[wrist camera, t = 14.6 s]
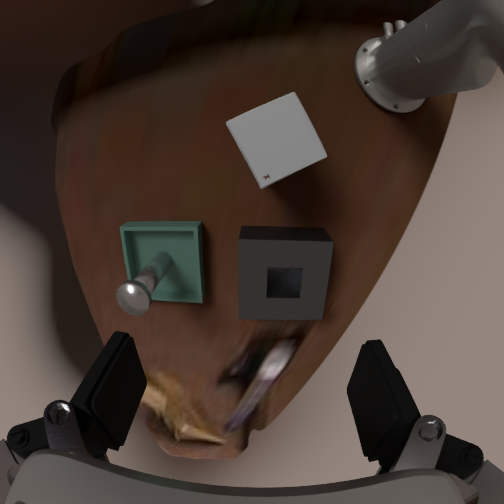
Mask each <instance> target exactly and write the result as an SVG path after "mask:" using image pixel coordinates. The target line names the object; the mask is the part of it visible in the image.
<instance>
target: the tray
mask: <svg viewBox="0 0 504 504" xmlns="http://www.w3.org/2000/svg"><path fill="white" fill-rule="evenodd" d="M120 232H121V240H122V247H123V253H124V259H125V265H126V271H127V276H128V280H134V279H135V277H136V276H137V275H138V274H139V273H140V272H141V271H142V270H143V268H144V267H145V266H146V265H147V264H148V263H149V262H150V261H151V260H152V258H153V257H154V256H155V255H156V254H157V253H158V252H166V253H168V254H169V255H170V256H171V258H172V265H171V267H170V268H169V270H168V271H167V273H166V274H165V275H164V277H163V278H162V280H161V281H160V282H159V284H158V285H157V287H156V288H155V290H154V291H153V293H152V294H151V296H152V300H160V301H174V302H189V303H203V301H204V298H205V295H206V292H205V277H204V262H203V244H202V222H201V221H148V222H127V223H125V224H124V225H122V226H120Z"/></svg>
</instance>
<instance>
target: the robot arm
mask: <svg viewBox="0 0 504 504" xmlns="http://www.w3.org/2000/svg"><path fill="white" fill-rule="evenodd" d="M395 25H396V31H397V32H396V33H395V34H393V27H392V24H391V23H384V24H383V26H384V31H385V35H384V36H383V37H381V38H374V39H370V40H368V41H367V42H365V43H364V44H363V45H361V47H360V48H359V49H358V51H357V53H356V55H355V61H354V68H355V73H356V77H357V79H358V82H359V84H360V86H361V87H362V89H363V91H364V92H365V93H366V94H367V96H368V97H369V98H370V99H371V100H372V101H373V102H375V103H376V104H377V105H379V106H380V107H382V108H384V109H386V110H388V111H392V112H395V113H406V112H410V111H414V110H415V109H417V108H419V107H420V106H421V105H422V104H423V102H424V100H425V98H428V97H433V96H438V95H444V94H449V93H455V92H462V91H469V90H474V89H478V88H481V87H483V86H485V85H486V84H487V83H488V82H490V80H491V79H492V77H493V75H494V73H495V71H496V68H497V65H498V66H499V67H500V69H501V70H502V72H503V74H504V0H442V1H441V2H439V3H438V4H436V5H435V6H434V7H432V8H431V9H429V10H428V11H426V12H425V13H423V14H422V15H420V16H419V17H417V18H416V19H414V20H413V21H412V22H410V23H409V24H407V23H406V22H404V21H396V22H395ZM363 51H364V52H363ZM364 83H366V85H365V84H364ZM394 107H395V108H394ZM146 386H147V380H146V376H145V374H144V371H143V368H142V365H141V362H140V359H139V356H138V352H137V349H136V346H135V343H134V339H133V338H132V337H130V335H129V333H125V332H118V331H115V332H114V333H113V335H112V336H111V338H110V339H109V341H108V342H107V344H106V345H105V347H104V348H103V350H102V351H101V353H100V354H99V356H98V358H97V359H96V360H95V362H94V363H93V365H92V366H91V368H90V370H89V371H88V373H87V374H86V376H85V378H84V379H83V381H82V382H81V384H80V386H79V387H78V389H77V391H76V393H75V394H74V396H73V398H72V399H71V401H70V403H69V402H67V401H64V400H56V401H54V402H51V403H50V404H49V405H47V407H46V408H45V411H44V417H42V418H39V419H36V420H33V421H30V422H26V423H23V424H19V425H16V426H14V427H13V428H11V430H10V431H9V433H8V435H7V440H6V441H5V440H4V439H3V440H1V441H0V504H504V472H502V471H501V470H500V469H499V468H497V467H496V466H495V465H494V464H492V463H491V462H490V461H488V460H486V461H484V460H483V459H484V457H483V452H482V450H481V449H480V448H479V447H478V446H476V445H474V444H472V443H469V442H467V441H464V440H461V439H459V438H456V437H454V436H451V435H449V434H446V426H445V424H444V423H443V421H442V420H441V419H440V418H438V417H436V416H433V415H425V416H422V417H421V415H420V413H419V411H418V408H417V406H416V404H415V402H414V400H413V398H412V395H411V393H410V391H409V389H408V387H407V385H406V383H405V381H404V379H403V377H402V375H401V373H400V371H399V370H398V369H397V368H395V366H394V364H393V362H392V360H391V358H390V356H389V354H388V352H387V350H386V348H385V346H384V344H383V342H382V341H381V340H380V339H379V340H369V341H366V343H365V344H363V345H362V347H361V349H360V352H359V355H358V358H357V361H356V364H355V367H354V370H353V373H352V376H351V378H350V381H349V383H348V386H347V395H348V399H349V402H350V406H351V409H352V413H353V416H354V420H355V424H356V427H357V431H358V435H359V439H360V443H361V447H362V451H363V454H364V456H365V457H367V456H368V460H369V462H371V461H375V460H378V461H379V465H380V468H379V469H378V471H377V473H376V475H375V476H370V477H365V478H360V479H355V480H349V481H342V482H336V483H329V484H320V485H311V486H300V487H278V488H250V487H247V488H246V487H229V486H218V485H208V484H200V483H192V482H186V481H180V480H175V479H169V478H164V477H160V476H154V475H151V474H147V473H143V472H139V471H135V470H131V469H128V468H124V467H121V466H118V465H114V464H111V463H110V462H109V460H108V457H107V455H106V452H107V449H108V448H110V449H113V450H116V451H118V450H119V447H120V446H123V445H124V443H125V440H126V437H127V434H128V432H129V429H130V427H131V424H132V422H133V419H134V416H135V413H136V411H137V409H138V406H139V404H140V401H141V399H142V396H143V394H144V391H145V389H146Z"/></svg>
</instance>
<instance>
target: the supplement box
mask: <svg viewBox="0 0 504 504" xmlns="http://www.w3.org/2000/svg"><path fill="white" fill-rule="evenodd" d="M226 125H227V127H228V129H229V130H230V132H231V134H232V136H233V138H234V139H235V141H236V143H237V145H238V147H239V149H240V150H241V152H242V154H243V156H244V158H245V160H246V161H247V163H248V165H249V167H250V169H251V171H252V173H253V174H254V176H255V178H256V180H257V182H258V184H259V186H260V188H261V189H263V188H265V187H267V186H269V185H271V184H273V183H275V182H277V181H279V180H281V179H283V178H285V177H287V176H289V175H291V174H293V173H295V172H297V171H299V170H301V169H303V168H305V167H307V166H309V165H311V164H313V163H315V162H317V161H319V160H322V159H324V158H326V157H327V154H326V152H325V149H324V147H323V145H322V143H321V141H320V139H319V137H318V135H317V133H316V131H315V129H314V127H313V125H312V123H311V121H310V119H309V117H308V115H307V113H306V112H305V110H304V108H303V106H302V104H301V102H300V101H299V99H298V97H297V96H296V94H295V92H292V93H290V94H287V95H285V96H282V97H280V98H278V99H275V100H273V101H271V102H268V103H266V104H264V105H261V106H259V107H257V108H254V109H252V110H250V111H248V112H246V113H243V114H241V115H239V116H237V117H235V118H233V119H231V120H229V121H227V122H226Z"/></svg>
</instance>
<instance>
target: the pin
mask: <svg viewBox="0 0 504 504" xmlns="http://www.w3.org/2000/svg"><path fill="white" fill-rule="evenodd" d="M171 265H172V258H171V256H170V255H169V254H168V253H166V252H158V253H157V254H156V255H155V256H154V257H153V258H152V260H151V261H150V262H149V263H148V264H147V265H146V266H145V267H144V268H143V270H142V271H141V272H140V273H139V274H138V275H137V276H136V277H135V279H134V280H127V281H125V282H124V283H123V284H122V285H121V286H120V287H119V288H118V290H117V293H116V298H117V301H118V304H119V305H120V307H121V308H122V309H123V310H124V311H125V312H127V313H128V314H131V315H134V316H141V315H143V314H145V313H146V312H147V310H148V309H149V307H150V305H151V303H152V296H151V294H152V293H153V291H154V290H155V288H156V287H157V285H158V284H159V282H160V281H161V280H162V278H163V277H164V275H165V274H166V273H167V271H168V270H169V268H170V267H171Z"/></svg>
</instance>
